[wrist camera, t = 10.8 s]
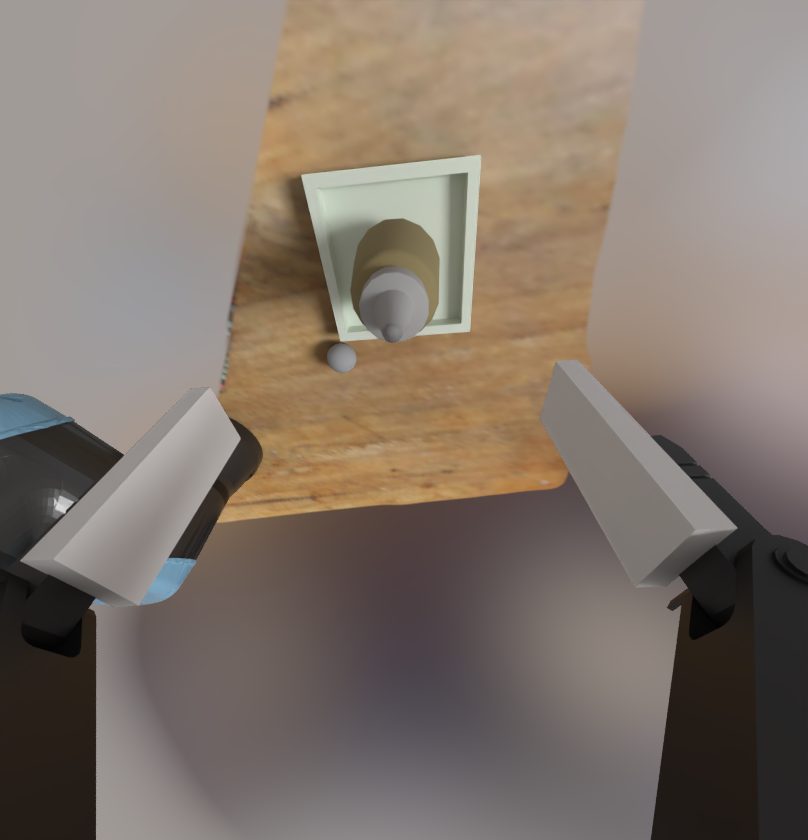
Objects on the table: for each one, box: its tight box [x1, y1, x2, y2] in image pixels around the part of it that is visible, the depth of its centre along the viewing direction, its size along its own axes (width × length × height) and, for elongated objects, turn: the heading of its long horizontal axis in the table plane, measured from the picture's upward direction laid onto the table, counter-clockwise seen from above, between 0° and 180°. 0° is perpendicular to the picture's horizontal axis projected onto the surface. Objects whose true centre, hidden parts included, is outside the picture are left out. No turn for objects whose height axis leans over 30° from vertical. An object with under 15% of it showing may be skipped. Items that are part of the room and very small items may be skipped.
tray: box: [301, 155, 481, 341], centre depth 30 cm, size 15×15×2 cm
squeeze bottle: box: [350, 218, 440, 343], centre depth 23 cm, size 8×8×18 cm
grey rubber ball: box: [327, 343, 357, 373], centre depth 36 cm, size 4×4×4 cm
